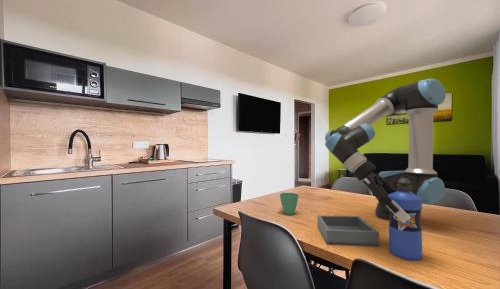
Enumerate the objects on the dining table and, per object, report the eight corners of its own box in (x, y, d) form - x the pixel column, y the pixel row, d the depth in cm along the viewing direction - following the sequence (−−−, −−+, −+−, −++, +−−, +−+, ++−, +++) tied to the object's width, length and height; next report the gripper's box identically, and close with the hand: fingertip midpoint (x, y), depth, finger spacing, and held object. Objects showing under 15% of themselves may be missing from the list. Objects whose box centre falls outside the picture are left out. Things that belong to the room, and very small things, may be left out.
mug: (301, 215, 115) (301, 196, 115) (284, 216, 113) (283, 197, 113) (290, 207, 129) (290, 190, 129) (274, 209, 127) (274, 191, 127)
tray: (359, 227, 97) (359, 216, 97) (379, 246, 79) (378, 232, 79) (317, 226, 99) (317, 215, 99) (327, 244, 81) (326, 230, 81)
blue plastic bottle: (424, 264, 67) (423, 181, 67) (388, 256, 72) (387, 179, 72) (421, 251, 75) (419, 177, 75) (388, 245, 80) (387, 175, 80)
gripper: (361, 170, 93) (405, 212, 83) (340, 176, 75) (393, 232, 65) (375, 158, 90) (422, 201, 80) (357, 161, 71) (416, 218, 61)
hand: (409, 215), depth 72 cm, fingers open, 13 cm apart
